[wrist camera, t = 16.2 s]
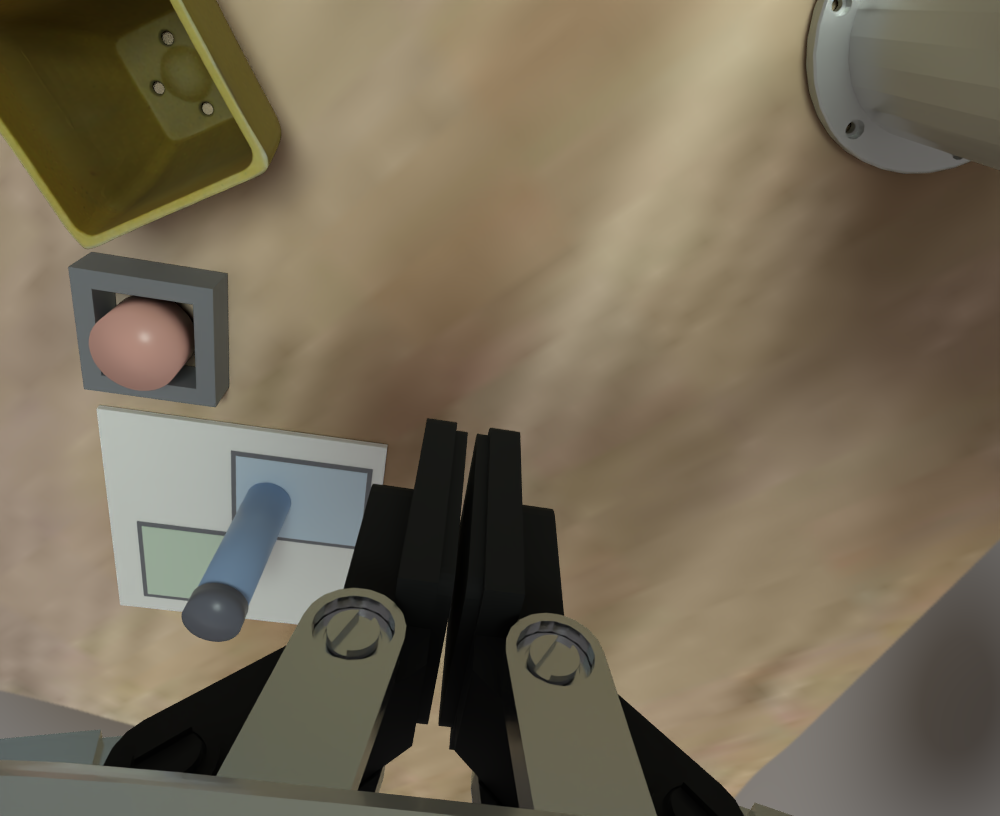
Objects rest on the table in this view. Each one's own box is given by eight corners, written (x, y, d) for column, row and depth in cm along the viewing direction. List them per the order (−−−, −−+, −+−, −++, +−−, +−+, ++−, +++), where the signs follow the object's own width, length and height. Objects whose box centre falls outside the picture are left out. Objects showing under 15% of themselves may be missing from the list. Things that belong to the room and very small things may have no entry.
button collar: (227, 273, 38) (212, 289, 36) (229, 386, 42) (215, 407, 40) (91, 251, 37) (67, 266, 35) (104, 369, 41) (83, 389, 39)
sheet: (387, 444, 44) (386, 449, 43) (366, 627, 52) (365, 633, 51) (99, 405, 42) (95, 409, 42) (122, 600, 50) (119, 606, 49)
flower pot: (320, 132, 35) (272, 171, 27) (167, 199, 36) (80, 254, 28) (221, -70, 31) (131, -93, 23) (53, 15, 32) (-85, 21, 24)
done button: (195, 300, 38) (176, 319, 35) (197, 373, 40) (180, 396, 37) (108, 287, 37) (84, 306, 35) (116, 362, 39) (93, 384, 37)
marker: (294, 486, 44) (242, 605, 36) (290, 522, 46) (239, 645, 37) (246, 477, 44) (181, 595, 36) (243, 514, 46) (181, 636, 37)
